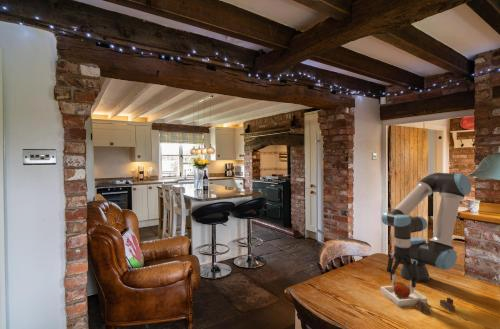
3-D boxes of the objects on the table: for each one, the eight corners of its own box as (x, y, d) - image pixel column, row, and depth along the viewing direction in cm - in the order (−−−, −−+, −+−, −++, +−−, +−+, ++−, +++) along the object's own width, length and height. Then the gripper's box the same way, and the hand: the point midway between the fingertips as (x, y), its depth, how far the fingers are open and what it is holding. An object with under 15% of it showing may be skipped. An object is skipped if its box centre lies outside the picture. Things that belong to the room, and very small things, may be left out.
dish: (406, 290, 151) (406, 284, 151) (427, 304, 136) (427, 298, 136) (380, 292, 150) (380, 286, 150) (398, 307, 135) (398, 300, 135)
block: (446, 304, 136) (446, 295, 136) (456, 311, 130) (456, 301, 130) (414, 307, 134) (414, 298, 134) (424, 314, 128) (423, 304, 128)
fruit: (387, 292, 144) (392, 277, 146) (396, 297, 147) (401, 282, 149) (402, 299, 137) (407, 283, 138) (411, 304, 140) (416, 288, 141)
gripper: (378, 242, 149) (379, 284, 149) (421, 252, 132) (421, 300, 132) (386, 239, 153) (386, 280, 154) (428, 249, 136) (428, 295, 137)
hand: (402, 289), depth 143 cm, fingers closed on fruit, 8 cm apart
